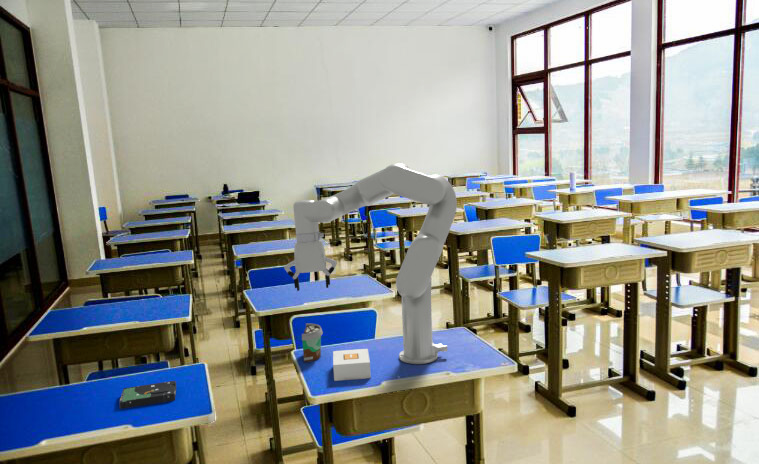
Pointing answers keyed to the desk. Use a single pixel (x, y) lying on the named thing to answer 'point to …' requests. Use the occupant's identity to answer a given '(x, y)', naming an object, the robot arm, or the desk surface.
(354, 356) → the orange small block
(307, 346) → the food container
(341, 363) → the switch box
